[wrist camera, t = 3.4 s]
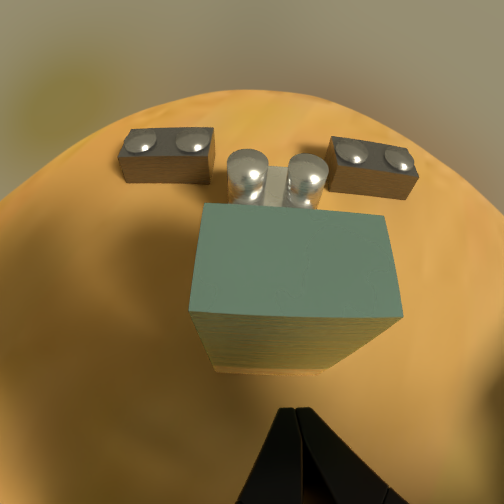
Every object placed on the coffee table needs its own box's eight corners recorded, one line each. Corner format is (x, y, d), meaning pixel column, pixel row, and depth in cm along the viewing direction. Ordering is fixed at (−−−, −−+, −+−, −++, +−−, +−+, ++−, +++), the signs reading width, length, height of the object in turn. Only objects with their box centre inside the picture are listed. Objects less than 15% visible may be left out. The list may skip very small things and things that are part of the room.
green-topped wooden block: (316, 375, 14) (403, 316, 7) (215, 372, 14) (188, 310, 7) (306, 190, 21) (335, 72, 13) (232, 185, 20) (232, 62, 13)
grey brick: (405, 200, 21) (420, 174, 18) (126, 183, 20) (116, 153, 18) (395, 171, 22) (408, 145, 20) (138, 154, 22) (130, 126, 19)
